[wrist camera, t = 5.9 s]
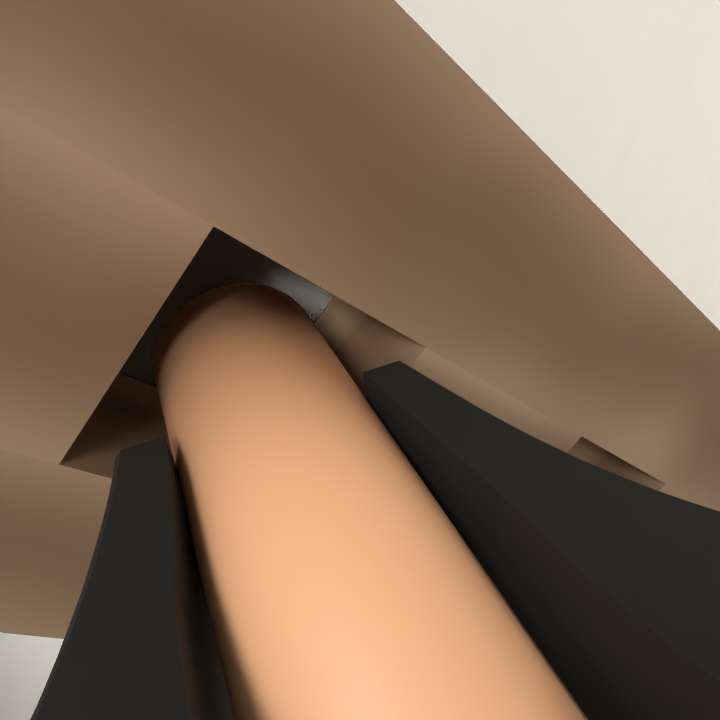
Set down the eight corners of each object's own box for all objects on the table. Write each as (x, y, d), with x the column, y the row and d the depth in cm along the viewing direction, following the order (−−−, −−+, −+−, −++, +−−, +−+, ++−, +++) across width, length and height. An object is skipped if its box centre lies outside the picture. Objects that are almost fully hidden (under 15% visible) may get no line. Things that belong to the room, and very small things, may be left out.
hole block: (488, 604, 24) (543, 689, 22) (-257, 436, 11) (-352, 595, 9) (715, 360, 22) (810, 422, 19) (69, -241, 8) (80, -317, 6)
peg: (262, 443, 13) (509, 1029, 6) (122, 395, 11) (231, 1141, 4) (345, 324, 12) (737, 828, 5) (208, 254, 11) (516, 862, 4)
